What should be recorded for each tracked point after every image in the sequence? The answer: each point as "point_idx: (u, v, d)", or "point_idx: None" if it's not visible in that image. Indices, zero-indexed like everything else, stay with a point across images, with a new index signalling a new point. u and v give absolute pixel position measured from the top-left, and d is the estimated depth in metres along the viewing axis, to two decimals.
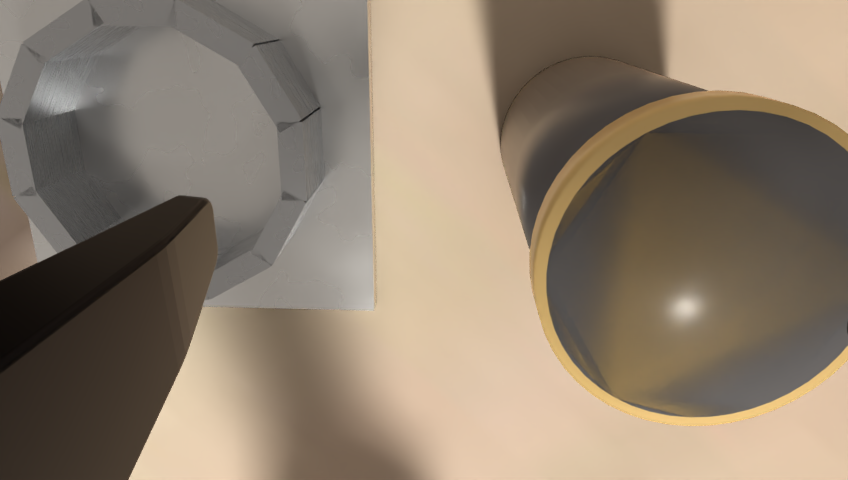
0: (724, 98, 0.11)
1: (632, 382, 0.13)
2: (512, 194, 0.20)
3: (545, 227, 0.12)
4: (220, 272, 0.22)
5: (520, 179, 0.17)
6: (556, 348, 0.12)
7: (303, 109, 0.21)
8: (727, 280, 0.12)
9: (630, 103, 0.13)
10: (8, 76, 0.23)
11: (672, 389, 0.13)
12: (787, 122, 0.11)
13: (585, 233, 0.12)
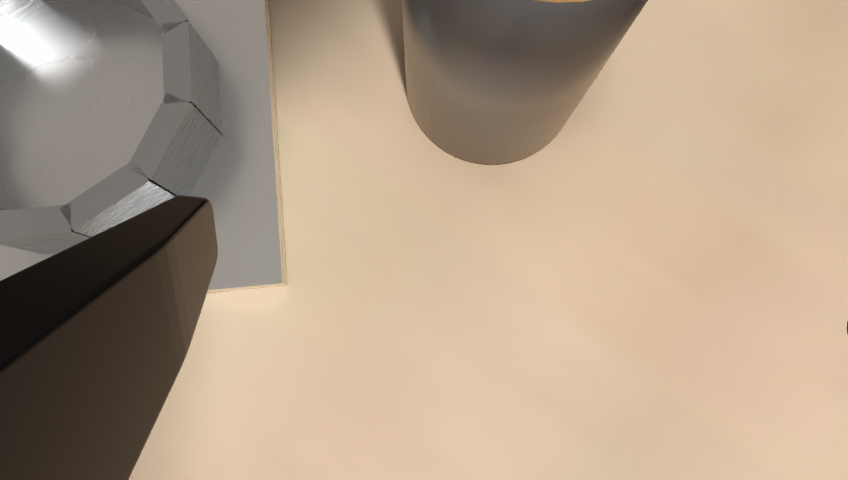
0: None
1: None
2: (412, 71, 0.19)
3: None
4: (88, 195, 0.19)
5: None
6: None
7: None
8: None
9: None
10: None
11: None
12: None
13: None
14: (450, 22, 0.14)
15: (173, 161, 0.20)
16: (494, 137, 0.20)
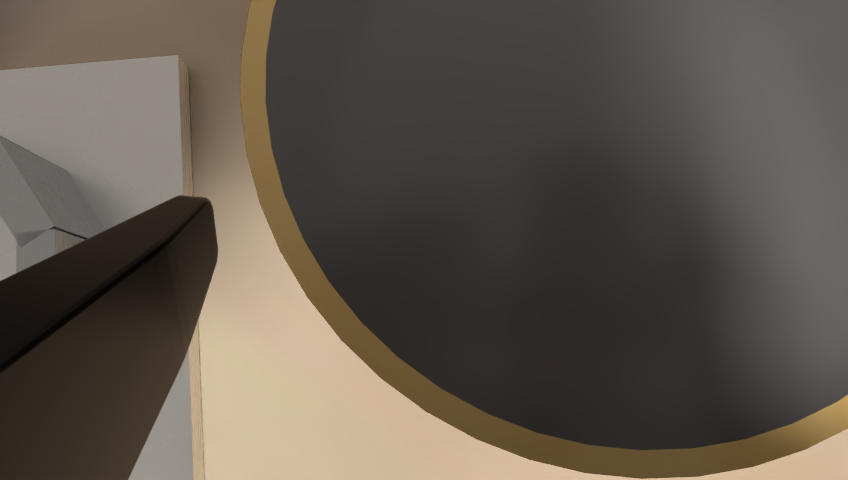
0: None
1: (522, 362, 0.05)
2: None
3: (250, 4, 0.05)
4: None
5: None
6: (314, 287, 0.05)
7: (66, 224, 0.15)
8: (666, 74, 0.05)
9: None
10: None
11: (626, 369, 0.05)
12: None
13: (338, 8, 0.05)
14: None
15: None
16: None
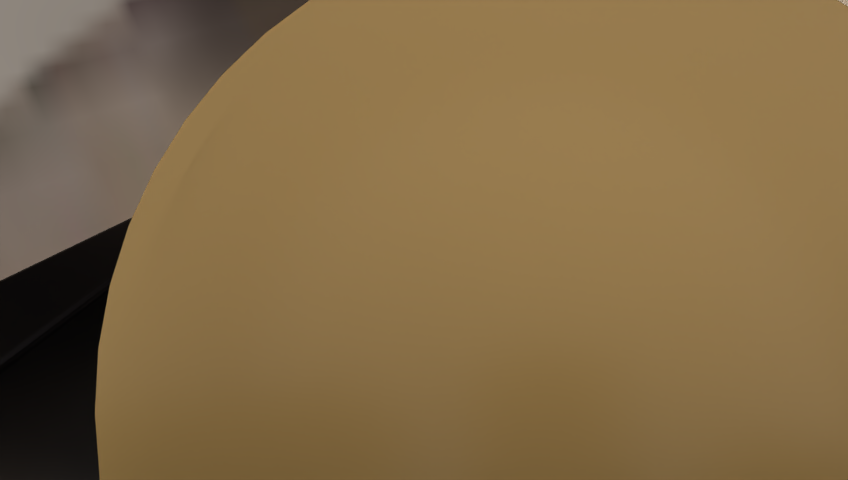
0: None
1: None
2: None
3: (112, 278, 0.04)
4: None
5: None
6: None
7: None
8: (627, 371, 0.04)
9: None
10: None
11: None
12: None
13: (219, 283, 0.04)
14: None
15: None
16: None
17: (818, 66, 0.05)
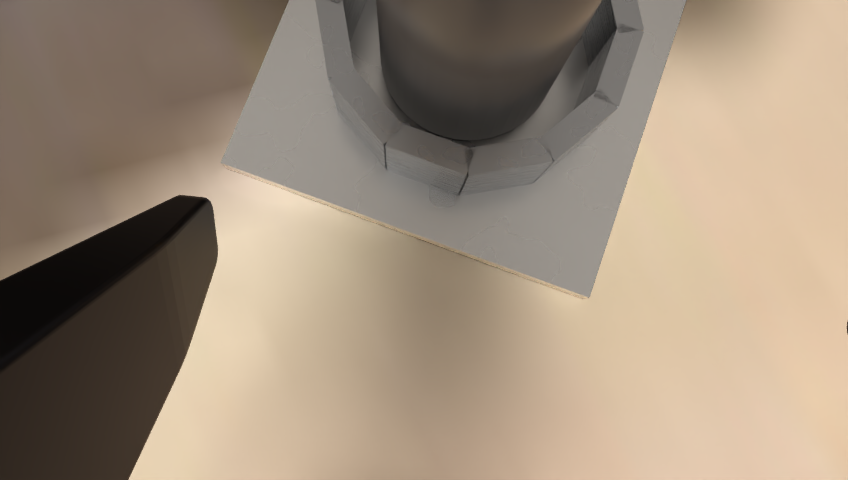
0: None
1: None
2: (384, 36, 0.18)
3: None
4: (494, 148, 0.19)
5: None
6: None
7: None
8: None
9: None
10: None
11: None
12: None
13: None
14: None
15: (568, 150, 0.20)
16: (470, 107, 0.19)
17: None
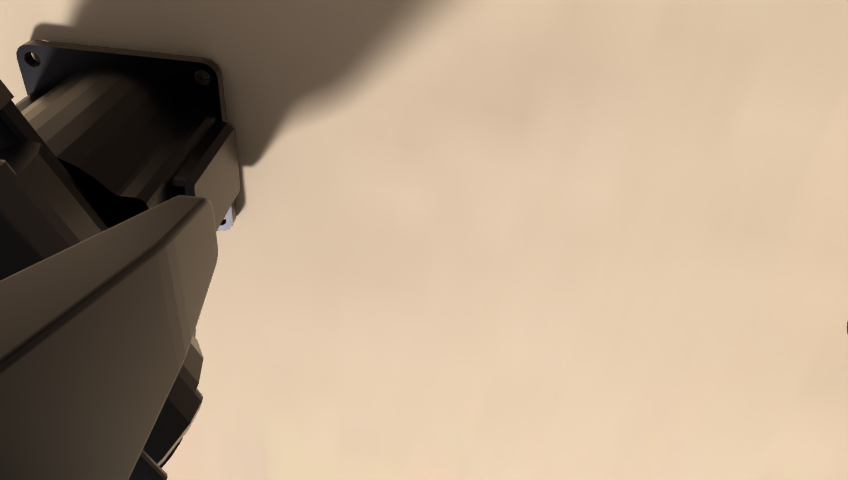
0: None
1: None
2: None
3: None
4: None
5: None
6: None
7: None
8: None
9: None
10: None
11: None
12: None
13: None
14: None
15: None
16: None
17: None
